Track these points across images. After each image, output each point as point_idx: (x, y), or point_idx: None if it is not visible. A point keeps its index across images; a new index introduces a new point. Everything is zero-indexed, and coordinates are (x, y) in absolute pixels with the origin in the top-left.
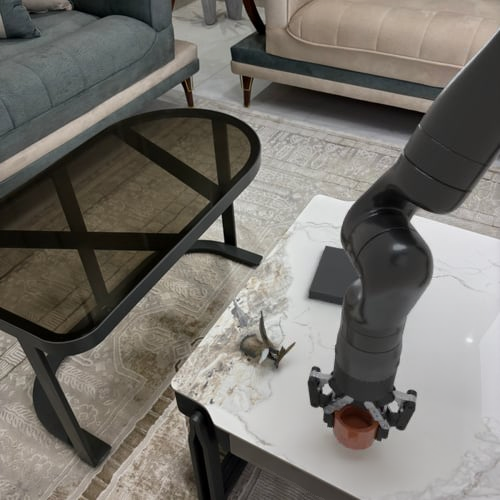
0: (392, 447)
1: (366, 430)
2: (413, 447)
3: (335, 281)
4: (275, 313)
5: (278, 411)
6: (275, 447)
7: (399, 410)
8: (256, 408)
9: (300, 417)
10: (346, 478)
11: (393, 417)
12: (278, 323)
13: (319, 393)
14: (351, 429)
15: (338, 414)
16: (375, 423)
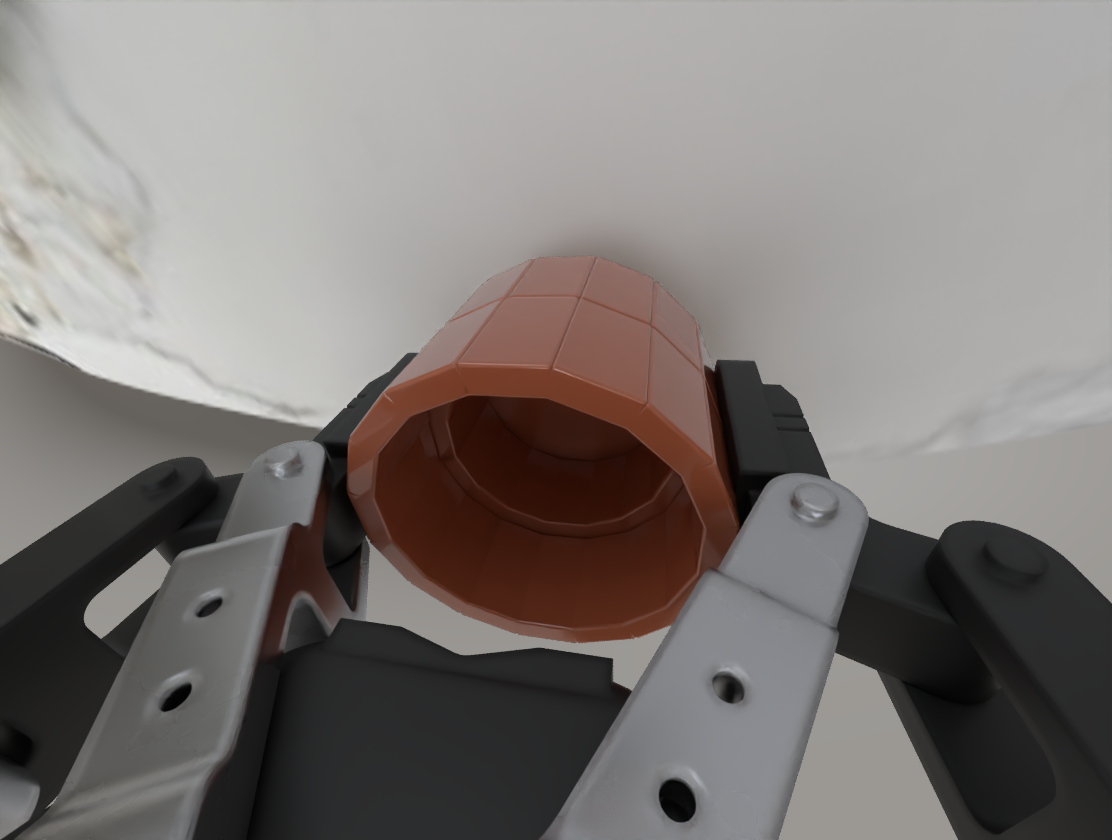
0: (802, 281)
1: (627, 632)
2: (939, 242)
3: None
4: None
5: (237, 272)
6: (333, 417)
7: (988, 653)
8: (162, 290)
9: (331, 269)
10: None
11: (873, 637)
12: None
13: (172, 543)
14: (530, 631)
15: (413, 564)
16: (689, 595)
